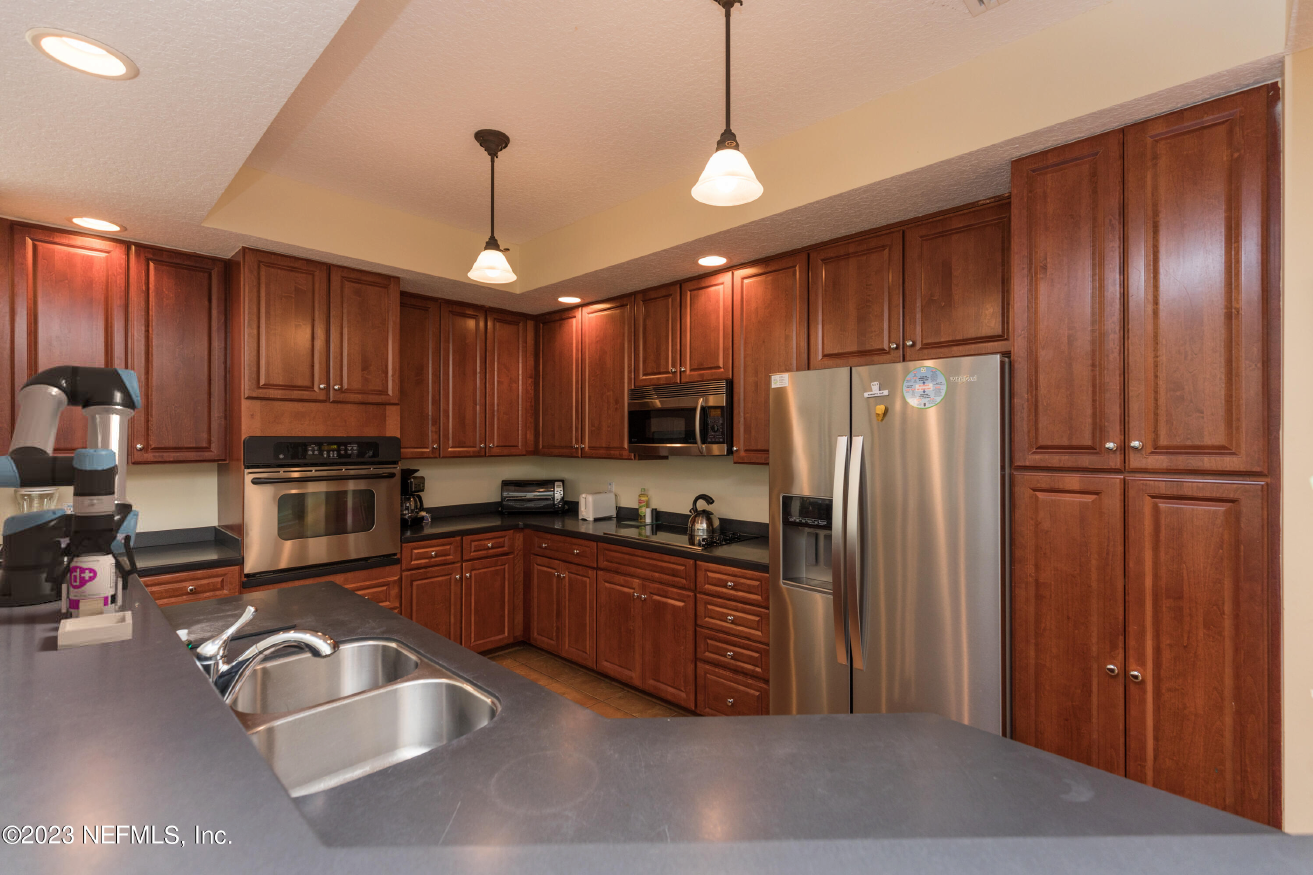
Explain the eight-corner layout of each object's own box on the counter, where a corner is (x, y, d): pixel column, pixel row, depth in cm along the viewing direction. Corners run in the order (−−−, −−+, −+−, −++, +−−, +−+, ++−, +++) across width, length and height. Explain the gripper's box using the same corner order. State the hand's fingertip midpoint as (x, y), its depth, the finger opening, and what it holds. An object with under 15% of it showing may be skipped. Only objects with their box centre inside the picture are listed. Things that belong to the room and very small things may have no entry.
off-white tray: (61, 636, 134) (61, 619, 134) (130, 626, 142) (130, 610, 142) (57, 650, 125) (57, 632, 125) (131, 638, 133) (132, 622, 133)
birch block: (79, 626, 141) (80, 600, 141) (103, 623, 144) (103, 597, 144) (78, 630, 138) (79, 603, 138) (103, 627, 141) (103, 601, 141)
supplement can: (93, 623, 143) (94, 558, 143) (58, 622, 144) (59, 558, 144) (124, 613, 152) (125, 552, 152) (91, 612, 152) (92, 551, 152)
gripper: (27, 518, 138) (25, 619, 138) (153, 511, 152) (152, 603, 152) (31, 514, 143) (29, 611, 143) (152, 508, 158) (150, 597, 158)
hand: (92, 607), depth 148 cm, fingers open, 9 cm apart
